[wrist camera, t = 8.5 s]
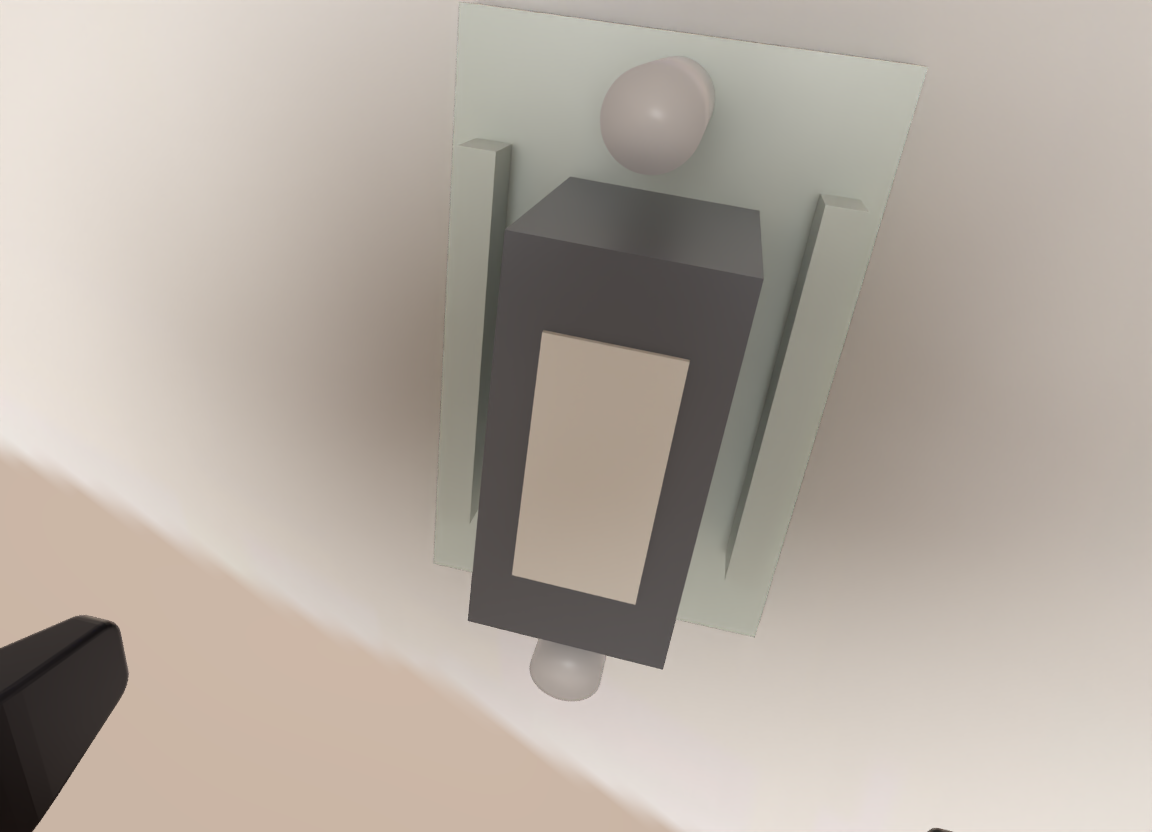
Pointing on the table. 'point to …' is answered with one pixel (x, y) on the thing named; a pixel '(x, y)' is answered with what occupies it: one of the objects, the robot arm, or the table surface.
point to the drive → (608, 411)
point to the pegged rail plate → (688, 169)
